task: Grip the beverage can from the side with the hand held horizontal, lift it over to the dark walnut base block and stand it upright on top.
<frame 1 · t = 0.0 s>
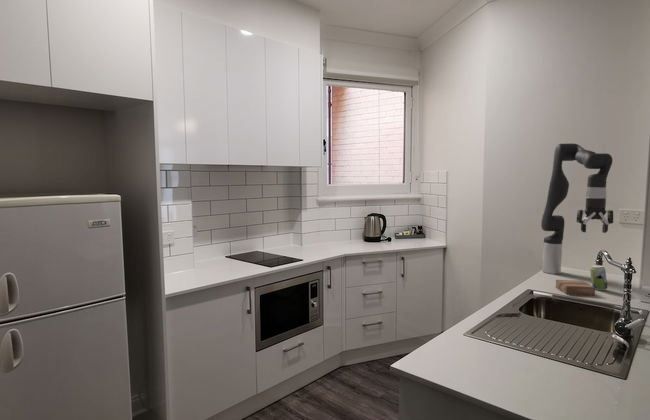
hand: (594, 232, 177), 29 cm above the counter, tool pointing down, fingers open, 8 cm apart
walnut base: (574, 291, 184), on the counter
beverage can: (598, 290, 188), on the counter
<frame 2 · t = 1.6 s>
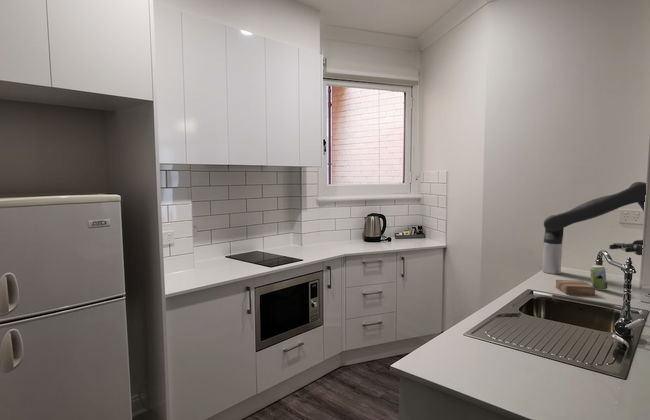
hand: (617, 248, 188), 20 cm above the counter, tool horizontal, fingers open, 8 cm apart
nothing on the counter moved.
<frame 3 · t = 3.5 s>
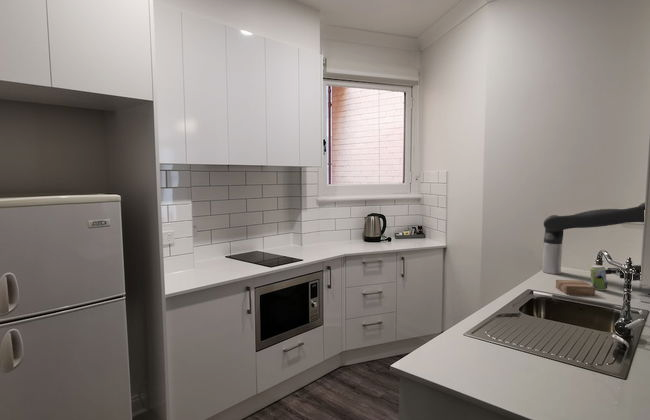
hand: (612, 273, 188), 7 cm above the counter, tool horizontal, fingers open, 8 cm apart
nothing on the counter moved.
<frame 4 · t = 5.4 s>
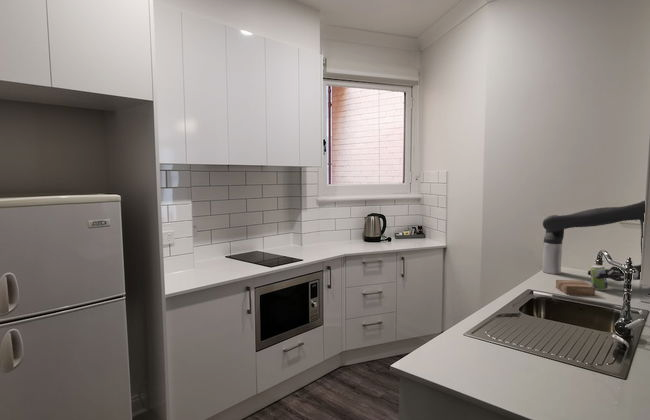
hand: (594, 274, 187), 8 cm above the counter, tool horizontal, fingers closed on beverage can, 5 cm apart
beverage can: (598, 289, 188), on the counter, touching gripper
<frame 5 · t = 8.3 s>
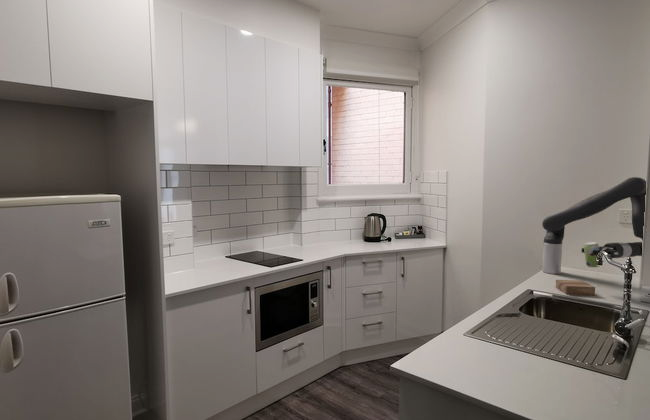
hand: (587, 251, 184), 19 cm above the counter, tool horizontal, fingers closed on beverage can, 5 cm apart
beverage can: (591, 267, 185), point 11 cm above the counter, touching gripper
when the fingers open (14 cm above the counter, at t = 10.9 s): beverage can drops 2 cm, resting on walnut base.
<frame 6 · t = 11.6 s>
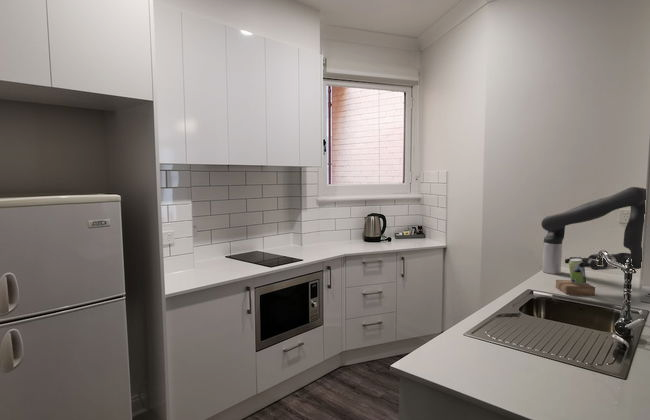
hand: (572, 262, 183), 14 cm above the counter, tool horizontal, fingers open, 8 cm apart
beverage can: (576, 284, 183), point 4 cm above the counter, touching walnut base
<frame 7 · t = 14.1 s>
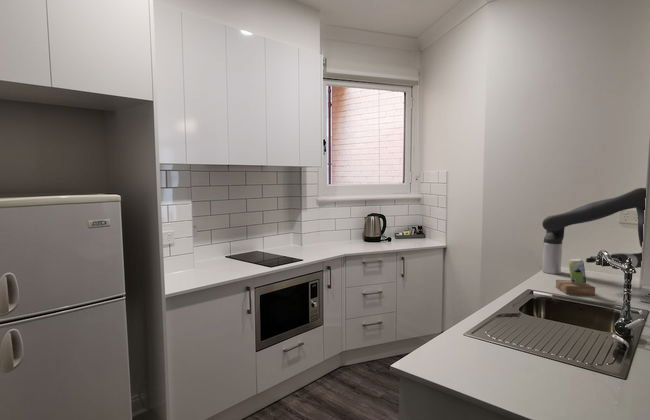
hand: (594, 262, 185), 14 cm above the counter, tool horizontal, fingers open, 8 cm apart
nothing on the counter moved.
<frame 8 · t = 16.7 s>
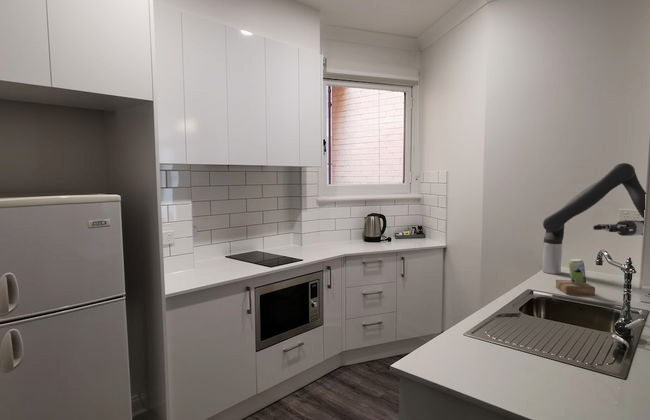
hand: (601, 228, 186), 30 cm above the counter, tool horizontal, fingers open, 8 cm apart
nothing on the counter moved.
at the end: beverage can inside the target area on the walnut base (1.0 cm from its centre), point 3.8 cm above the walnut base's base; beverage can tilted 0°; the gripper is holding nothing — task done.
